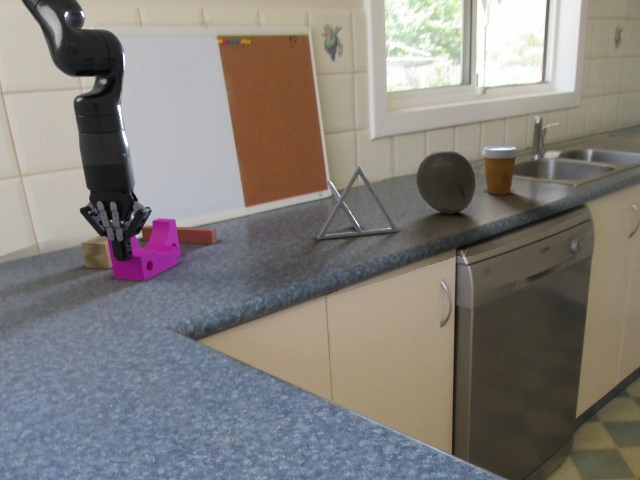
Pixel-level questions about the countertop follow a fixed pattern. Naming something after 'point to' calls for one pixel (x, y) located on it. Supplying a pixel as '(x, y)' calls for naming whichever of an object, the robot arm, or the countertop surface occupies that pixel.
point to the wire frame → (349, 214)
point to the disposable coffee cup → (499, 168)
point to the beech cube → (97, 253)
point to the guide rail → (187, 234)
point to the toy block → (150, 253)
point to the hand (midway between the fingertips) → (123, 260)
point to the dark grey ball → (446, 181)
